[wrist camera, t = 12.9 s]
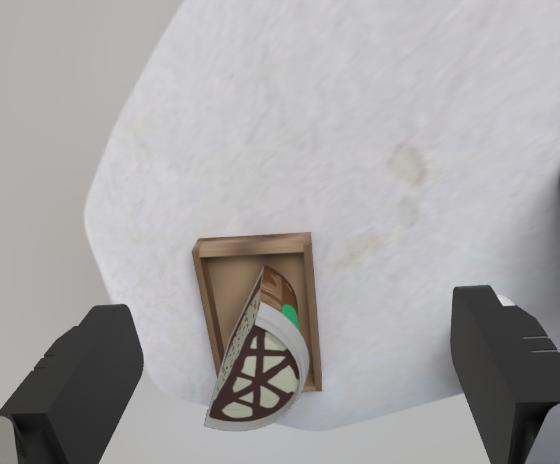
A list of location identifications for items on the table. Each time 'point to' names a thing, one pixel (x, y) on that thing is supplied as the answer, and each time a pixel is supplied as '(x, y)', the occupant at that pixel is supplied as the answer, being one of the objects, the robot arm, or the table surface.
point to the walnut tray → (241, 279)
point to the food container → (261, 360)
